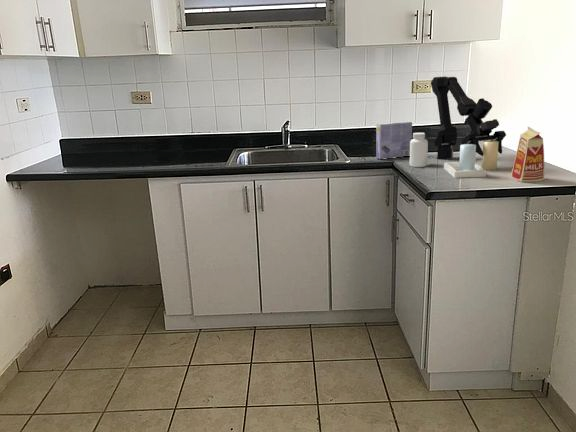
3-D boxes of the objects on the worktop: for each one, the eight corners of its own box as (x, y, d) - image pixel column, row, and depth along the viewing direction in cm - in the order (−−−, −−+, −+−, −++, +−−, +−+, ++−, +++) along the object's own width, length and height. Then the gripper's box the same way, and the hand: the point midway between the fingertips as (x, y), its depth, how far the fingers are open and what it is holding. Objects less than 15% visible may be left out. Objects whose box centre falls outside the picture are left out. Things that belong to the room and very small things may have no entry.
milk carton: (510, 178, 194) (513, 126, 189) (532, 176, 195) (537, 125, 189) (522, 182, 186) (526, 129, 180) (546, 181, 186) (551, 127, 181)
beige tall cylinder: (480, 170, 211) (481, 142, 207) (483, 167, 216) (484, 140, 212) (495, 171, 208) (497, 142, 204) (497, 168, 212) (499, 140, 209)
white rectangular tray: (443, 169, 217) (444, 162, 216) (472, 168, 216) (472, 161, 215) (454, 178, 198) (454, 171, 197) (485, 177, 197) (486, 170, 196)
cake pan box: (408, 155, 257) (409, 120, 252) (413, 156, 252) (414, 121, 248) (375, 158, 252) (375, 123, 247) (380, 160, 247) (380, 124, 242)
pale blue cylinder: (457, 175, 202) (458, 146, 198) (461, 172, 206) (462, 143, 203) (472, 176, 199) (474, 146, 195) (476, 173, 203) (477, 144, 200)
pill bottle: (417, 168, 223) (418, 134, 219) (405, 165, 230) (406, 133, 226) (431, 165, 226) (431, 133, 222) (419, 163, 233) (419, 131, 229)
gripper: (466, 114, 207) (482, 144, 199) (504, 111, 211) (521, 140, 204) (455, 132, 216) (469, 160, 209) (491, 128, 221) (507, 156, 213)
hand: (492, 154), depth 208 cm, fingers open, 9 cm apart
